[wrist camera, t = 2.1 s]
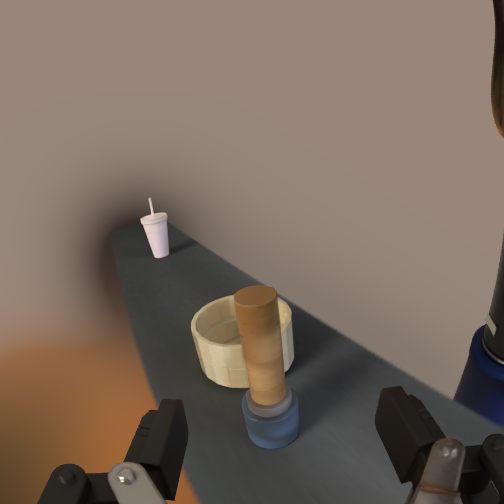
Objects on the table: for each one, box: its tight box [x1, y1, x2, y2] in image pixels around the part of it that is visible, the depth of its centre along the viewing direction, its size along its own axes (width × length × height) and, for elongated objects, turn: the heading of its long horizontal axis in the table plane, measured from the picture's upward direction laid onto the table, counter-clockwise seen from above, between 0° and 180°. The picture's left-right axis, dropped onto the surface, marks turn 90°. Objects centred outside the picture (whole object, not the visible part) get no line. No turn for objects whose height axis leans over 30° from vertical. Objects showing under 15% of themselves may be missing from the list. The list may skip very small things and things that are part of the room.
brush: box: [233, 285, 299, 449], centre depth 22 cm, size 5×5×14 cm
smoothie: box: [141, 198, 169, 258], centre depth 72 cm, size 6×6×14 cm
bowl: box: [191, 295, 294, 388], centre depth 34 cm, size 11×11×6 cm
